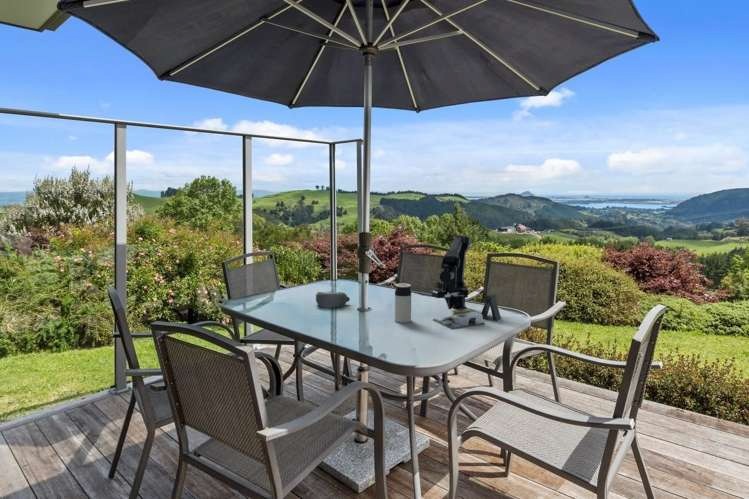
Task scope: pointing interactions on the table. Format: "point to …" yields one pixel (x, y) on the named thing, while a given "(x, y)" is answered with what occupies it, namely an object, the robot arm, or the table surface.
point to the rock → (331, 299)
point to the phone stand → (494, 308)
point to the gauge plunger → (458, 313)
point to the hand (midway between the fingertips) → (449, 309)
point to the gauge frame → (461, 320)
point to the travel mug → (403, 303)
